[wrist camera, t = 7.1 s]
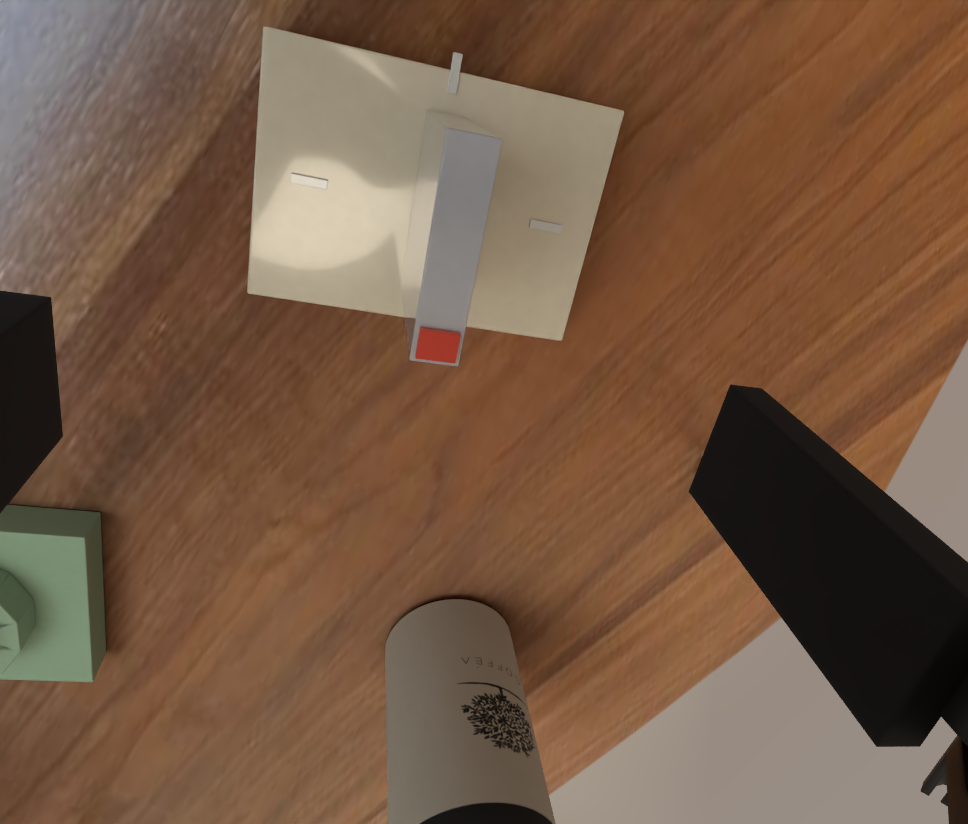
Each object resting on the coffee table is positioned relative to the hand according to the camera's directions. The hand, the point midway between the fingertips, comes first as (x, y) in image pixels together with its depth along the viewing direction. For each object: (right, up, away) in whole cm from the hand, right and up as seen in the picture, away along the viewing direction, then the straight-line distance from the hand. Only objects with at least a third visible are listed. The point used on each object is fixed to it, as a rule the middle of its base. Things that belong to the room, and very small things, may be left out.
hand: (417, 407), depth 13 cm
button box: (-26, -9, +23) cm, 35 cm away
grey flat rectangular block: (-1, +8, +14) cm, 17 cm away
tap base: (-1, +10, +17) cm, 20 cm away
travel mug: (-1, -15, +30) cm, 33 cm away
